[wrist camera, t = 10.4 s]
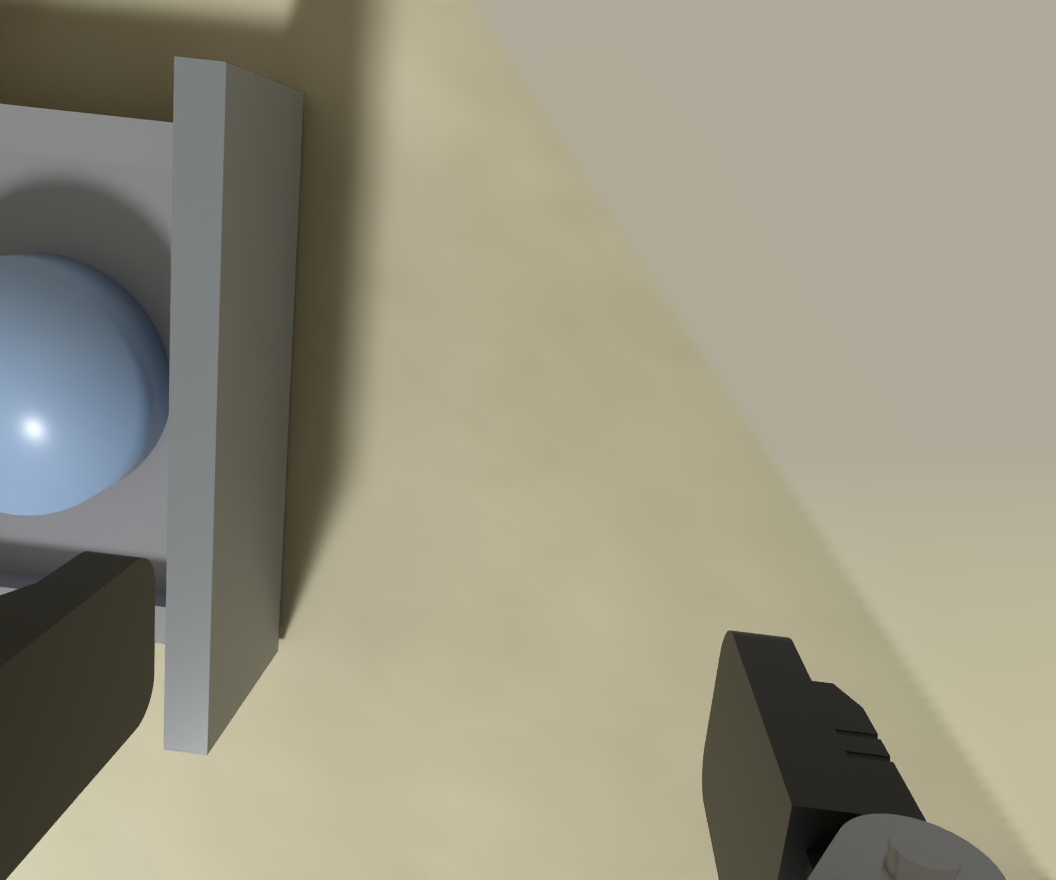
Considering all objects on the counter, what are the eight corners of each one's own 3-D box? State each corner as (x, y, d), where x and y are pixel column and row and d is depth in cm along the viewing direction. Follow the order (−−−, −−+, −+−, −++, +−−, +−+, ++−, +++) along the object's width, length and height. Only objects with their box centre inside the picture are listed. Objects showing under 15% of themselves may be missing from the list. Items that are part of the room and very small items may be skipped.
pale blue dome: (-74, 240, 23) (-128, 243, 21) (171, 266, 23) (137, 271, 21) (-61, 479, 24) (-110, 500, 23) (170, 505, 24) (138, 528, 22)
